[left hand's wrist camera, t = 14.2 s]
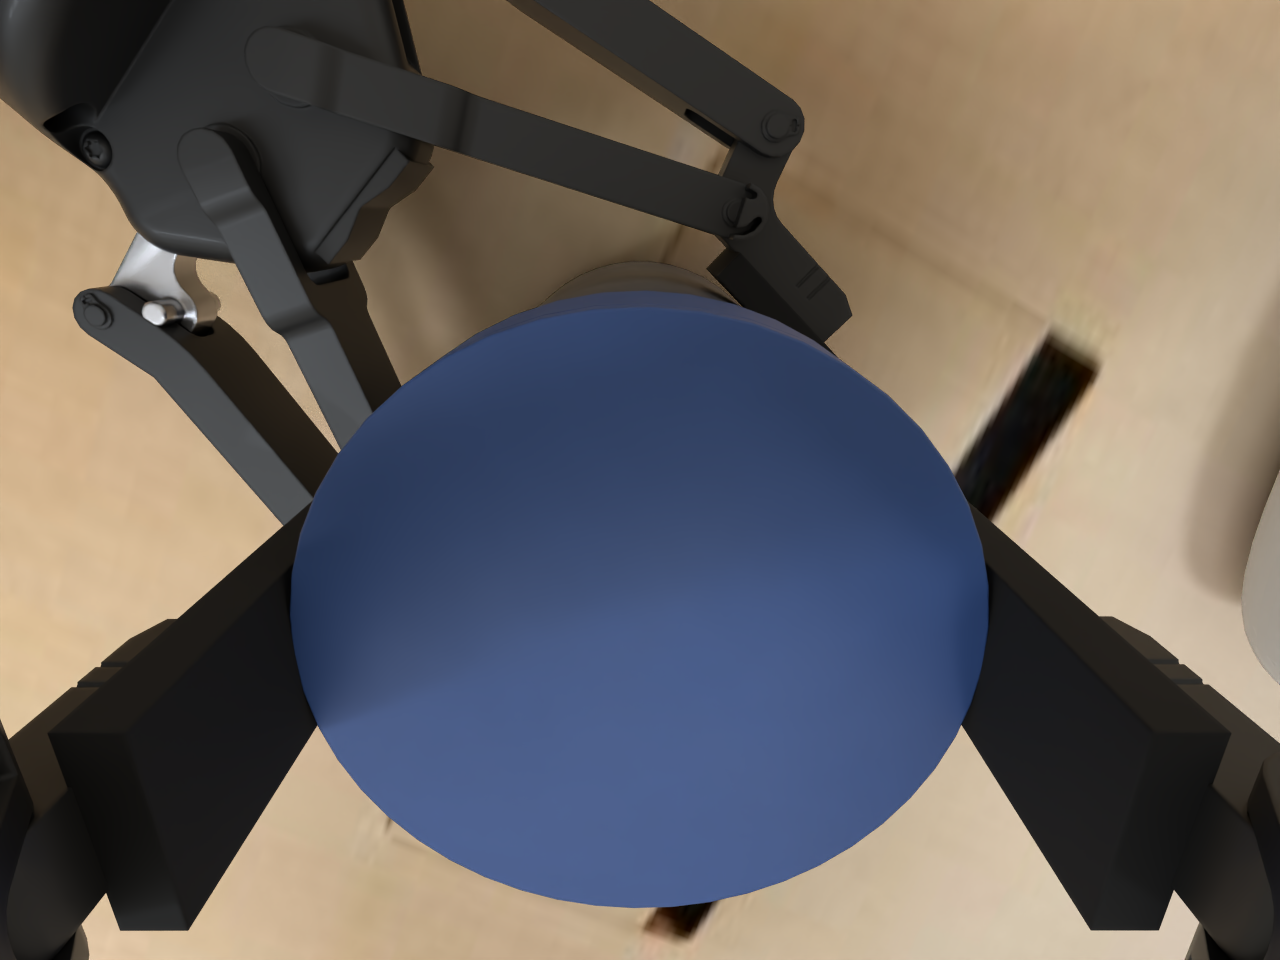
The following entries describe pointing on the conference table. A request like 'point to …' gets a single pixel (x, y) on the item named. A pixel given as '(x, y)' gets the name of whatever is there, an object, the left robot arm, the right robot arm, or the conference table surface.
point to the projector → (1264, 588)
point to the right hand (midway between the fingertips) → (750, 555)
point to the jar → (639, 282)
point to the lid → (639, 603)
